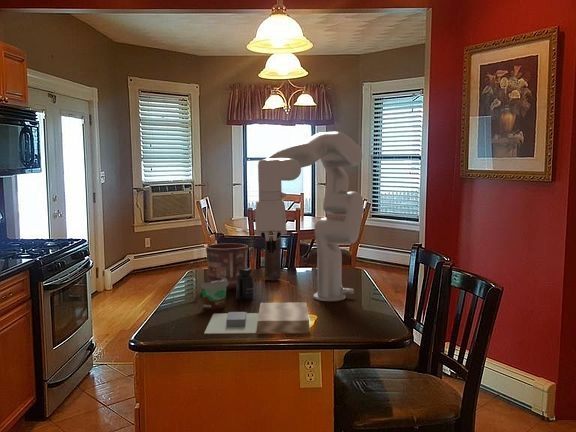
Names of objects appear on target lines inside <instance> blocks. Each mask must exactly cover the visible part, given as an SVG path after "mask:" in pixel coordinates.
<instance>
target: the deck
mask: <svg viewBox="0 0 576 432" xmlns="http://www.w3.org/2000/svg"><path fill="white" fill-rule="evenodd" d="M258 313H259V315H258V320H257V334H258V335H259V334H260V335H261V334H310V317H309V311H308V306H307V302H306V301H305V302H304V301H303V302H298V301H297V302H260V304H259V309H258Z"/></svg>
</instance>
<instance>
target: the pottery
mask: <svg viewBox="0 0 576 432" xmlns="http://www.w3.org/2000/svg"><path fill="white" fill-rule="evenodd" d="M205 248H206V249H205V251H206V263H207V280H208V283H209V282H211V281H217V280H220V279H221V277H225V278H226V279H227V281H228V286H227V287H226V291H232V290H233V291H234V290H236V278H237V276H238V275H239V269H240V268H248V253H249V245H247V244H245V243H234V242H233V243H232V242H230V243H227V242H226V243H225V242H224V243H214V244H209V245H207V246H205Z"/></svg>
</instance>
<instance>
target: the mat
mask: <svg viewBox="0 0 576 432" xmlns="http://www.w3.org/2000/svg"><path fill="white" fill-rule="evenodd" d="M227 315H228V313H213V314H212V316H211V318H210V320H209V321H208V324H207V326H206V329H205V330H204V333H203V334H204V335H235V334H236V335H239V334H241V335H243V334H246V335H247V334H249V335H252V334H253V335H255V334H257V331H258V329H257V320H258V315H259V312H253V313H252V312H249V313H248V312H246V325H245V327H226V319H227Z"/></svg>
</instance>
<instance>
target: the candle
mask: <svg viewBox="0 0 576 432" xmlns="http://www.w3.org/2000/svg"><path fill="white" fill-rule="evenodd" d="M269 238H270V240H272V238H273V235H269ZM281 239H282V238H281V236H279V238H278V239H277V240H276V250H274V253H272V248H271V253H269V250H267V241H266V240H265V239H264V273H263V274H264V276H263V277H264V278H263V279H264V281H269V282H275V281H278V280H280V279H281V275H282V274H281V272H282V271H281V258H282V257H281V255H282V253H281V250H282V249H281V248H282V243H281V242H282V241H281Z"/></svg>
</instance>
